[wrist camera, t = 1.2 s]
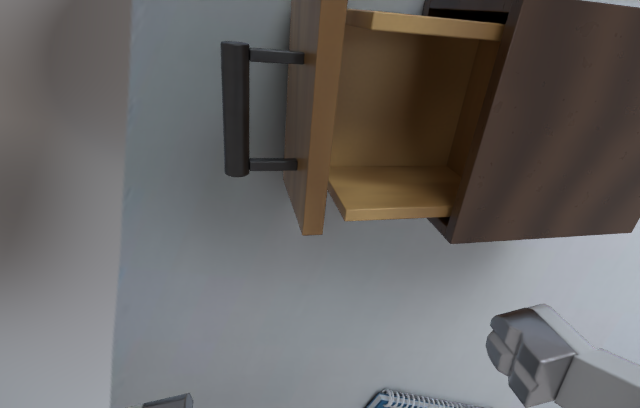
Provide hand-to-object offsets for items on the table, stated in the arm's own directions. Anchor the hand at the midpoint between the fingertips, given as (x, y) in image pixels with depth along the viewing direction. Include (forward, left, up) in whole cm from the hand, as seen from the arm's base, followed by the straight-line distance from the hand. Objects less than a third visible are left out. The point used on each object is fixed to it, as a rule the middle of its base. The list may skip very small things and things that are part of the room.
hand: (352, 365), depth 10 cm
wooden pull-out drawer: (+6, +3, -19) cm, 20 cm away
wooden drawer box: (+18, +3, -20) cm, 27 cm away
